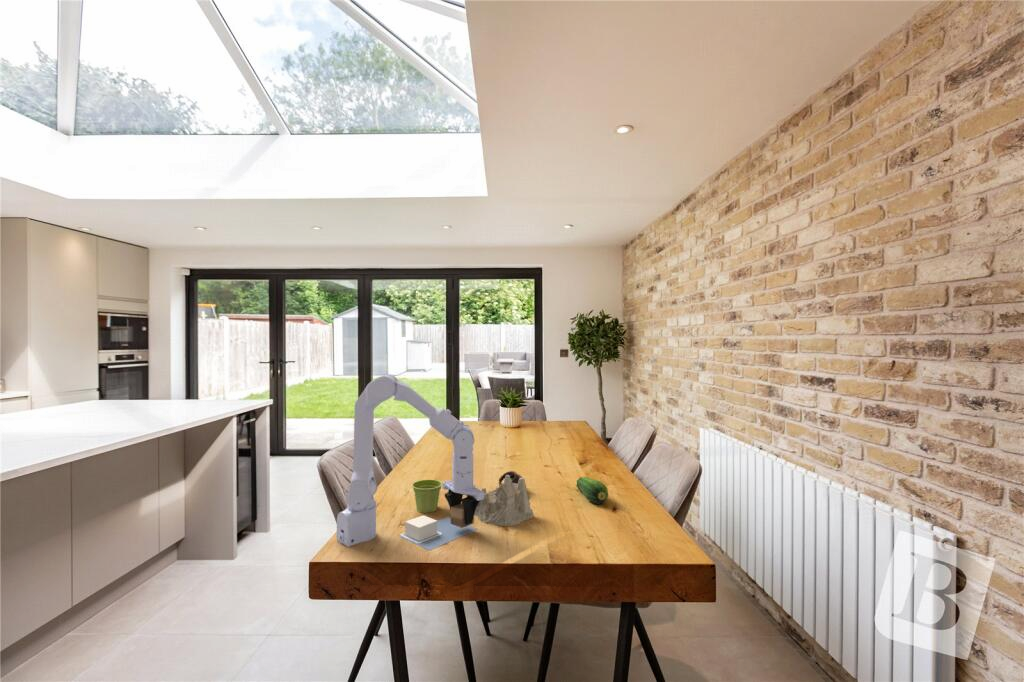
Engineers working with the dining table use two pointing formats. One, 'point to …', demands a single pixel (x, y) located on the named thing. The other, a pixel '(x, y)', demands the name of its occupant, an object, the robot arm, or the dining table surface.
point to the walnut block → (458, 516)
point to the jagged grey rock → (505, 504)
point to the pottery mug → (513, 476)
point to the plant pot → (427, 494)
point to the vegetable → (592, 489)
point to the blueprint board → (441, 534)
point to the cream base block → (421, 528)
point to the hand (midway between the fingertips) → (462, 520)
